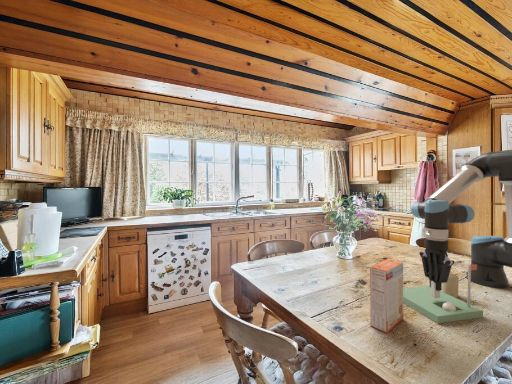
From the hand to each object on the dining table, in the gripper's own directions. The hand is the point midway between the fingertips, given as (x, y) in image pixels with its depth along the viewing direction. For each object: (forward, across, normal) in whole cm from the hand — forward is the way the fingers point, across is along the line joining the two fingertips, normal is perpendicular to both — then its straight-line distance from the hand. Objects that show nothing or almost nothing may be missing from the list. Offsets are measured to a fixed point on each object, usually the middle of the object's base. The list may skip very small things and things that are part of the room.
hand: (435, 297), depth 93 cm
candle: (+4, -7, +16) cm, 18 cm away
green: (+4, -1, 0) cm, 4 cm away
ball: (+1, +6, 0) cm, 6 cm away
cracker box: (+4, +6, -27) cm, 28 cm away
